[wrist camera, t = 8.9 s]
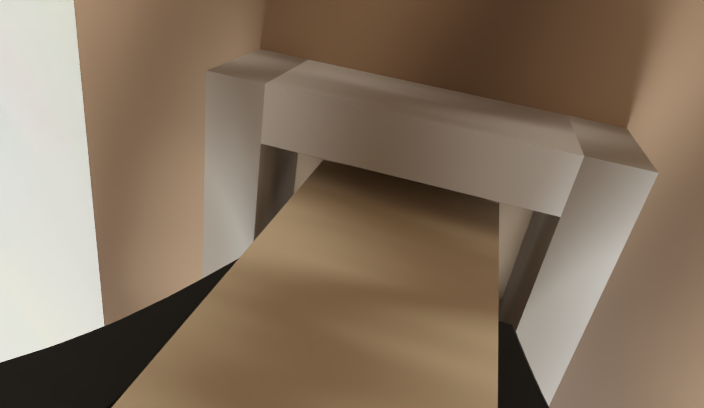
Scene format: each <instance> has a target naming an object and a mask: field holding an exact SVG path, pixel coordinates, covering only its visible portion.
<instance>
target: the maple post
mask: <svg viewBox="0 0 704 408" xmlns="http://www.w3.org/2000/svg"><path fill="white" fill-rule="evenodd" d="M498 307H499V203H497V202H493V201H489V200H485V199H480V198H476V197H472V196H468V195H464V194H460V193H456V192H452V191H448V190H444V189H440V188H436V187H432V186H428V185H424V184H420V183H416V182H411V181H407V180H403V179H399V178H395V177H391V176H387V175H383V174H379V173H375V172H371V171H367V170H363V169H359V168H355V167H351V166H347V165H342V164H338V163H334V162H330V161H326V160H323V161H322V162H321V163H320V164H319V166H318V167H317V168H316V169H315V170H314V171H313V173H312V174H311V175H310V176H309V177H308V178H307V180H306V181H305V182H304V183H303V184H302V185H301V187H300V188H299V189H298V190H297V191H296V192H295V194H294V195H293V196H292V197H291V198H290V199H289V201H288V202H287V203H286V204H285V205H284V206H283V208H282V209H281V210H280V211H279V212H278V214H277V215H276V216H275V217H274V218H273V219H272V221H271V222H270V223H269V224H268V225H267V226H266V228H265V229H264V230H263V231H262V232H261V233H260V235H259V236H258V237H257V238H256V239H255V240H254V242H253V243H252V244H251V245H250V246H249V247H248V249H247V250H246V251H245V252H244V253H243V254H242V256H241V257H240V258H239V259H238V260H237V261H236V263H235V264H234V265H233V266H232V267H231V268H230V270H229V271H228V272H227V273H226V274H225V275H224V277H223V278H222V279H221V280H220V281H219V283H218V284H217V285H216V286H215V287H214V288H213V290H212V291H211V292H210V293H209V294H208V295H207V297H206V298H205V299H204V300H203V301H202V302H201V304H200V305H199V306H198V307H197V308H196V309H195V311H194V312H193V313H192V314H191V315H190V316H189V318H188V319H187V320H186V321H185V322H184V323H183V325H182V326H181V327H180V328H179V329H178V330H177V332H176V333H175V334H174V335H173V336H172V337H171V339H170V340H169V341H168V342H167V343H166V345H165V346H164V347H163V348H162V349H161V350H160V352H159V353H158V354H157V355H156V356H155V357H154V359H153V360H152V361H151V362H150V363H149V364H148V366H147V367H146V368H145V369H144V370H143V371H142V373H141V374H140V375H139V376H138V377H137V378H136V380H135V381H134V382H133V383H132V384H131V385H130V387H129V388H128V389H127V390H126V391H125V392H124V394H123V395H122V396H121V397H120V398H119V399H118V401H117V402H116V403H115V404H114V405H113V407H112V408H498Z"/></svg>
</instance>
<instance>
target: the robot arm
mask: <svg viewBox="0 0 704 408" xmlns="http://www.w3.org/2000/svg"><path fill="white" fill-rule="evenodd" d="M238 259H239V258H238ZM238 259H237V260H238ZM237 260H235V261H233V262H231V263H229V264H227V265H226V266H224V267H222V268H220V269H218V270H217V271H215V272H213V273H211V274H209V275H208V276H206V277H204V278H202V279H200V280H199V281H197V282H195V283H193V284H191V285H189V286H187V287H186V288H184V289H182V290H180V291H178V292H176V293H174V294H172V295H170V296H169V297H166V298H164V299H162V300H160V301H158V302H156V303H154V304H152V305H150V306H148V307H145V308H143V309H141V310H139V311H137V312H135V313H133V314H131V315H129V316H127V317H124V318H122V319H120V320H118V321H116V322H113V323H111V324H109V325H106V326H104V327H101V328H99V329H96V330H94V331H92V332H89V333H86V334H84V335H81V336H78V337H76V338H73V339H71V340H68V341H65V342H63V343H60V344H57V345H54V346H51V347H49V348H46V349H42V350H39V351H36V352H33V353H30V354H27V355H23V356H20V357H17V358H14V359H11V360H8V361H4V362H1V363H0V408H112V407H113V405H114V404H115V403H116V402H117V401H118V399H119V398H120V397H121V396H122V395H123V394H124V392H125V391H126V390H127V389H128V388H129V387H130V385H131V384H132V383H133V382H134V381H135V380H136V378H137V377H138V376H139V375H140V374H141V373H142V371H143V370H144V369H145V368H146V367H147V366H148V364H149V363H150V362H151V361H152V360H153V359H154V357H155V356H156V355H157V354H158V353H159V352H160V350H161V349H162V348H163V347H164V346H165V345H166V343H167V342H168V341H169V340H170V339H171V337H172V336H173V335H174V334H175V333H176V332H177V330H178V329H179V328H180V327H181V326H182V325H183V323H184V322H185V321H186V320H187V319H188V318H189V316H190V315H191V314H192V313H193V312H194V311H195V309H196V308H197V307H198V306H199V305H200V304H201V302H202V301H203V300H204V299H205V298H206V297H207V295H208V294H209V293H210V292H211V291H212V290H213V288H214V287H215V286H216V285H217V284H218V283H219V281H220V280H221V279H222V278H223V277H224V275H225V274H226V273H227V272H228V271H229V270H230V268H231V267H232V266H233V265H234V264H235V263H236V261H237ZM498 408H549V406H548V404H547V402H546V400H545V398H544V396H543V394H542V392H541V389H540V387H539V385H538V383H537V381H536V379H535V376H534V374H533V372H532V370H531V367H530V365H529V363H528V360H527V358H526V356H525V353H524V351H523V348H522V346H521V343H520V341H519V339H518V336H517V333H516V331H515V329H514V328H513V326H512V324H508V323H504V322H501V321H498Z"/></svg>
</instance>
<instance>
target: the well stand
mask: <svg viewBox="0 0 704 408" xmlns="http://www.w3.org/2000/svg"><path fill="white" fill-rule="evenodd" d="M74 7H75V17H76V28H77V39H78V49H79V60H80V70H81V81H82V92H83V102H84V113H85V123H86V134H87V144H88V155H89V166H90V176H91V187H92V197H93V208H94V219H95V229H96V240H97V250H98V261H99V272H100V282H101V293H102V303H103V314H104V324H105V326H106V325H109V324H111V323H113V322H116V321H118V320H120V319H122V318H124V317H127V316H129V315H131V314H133V313H135V312H137V311H139V310H141V309H143V308H145V307H148V306H150V305H152V304H154V303H156V302H158V301H160V300H162V299H164V298H166V297H169V296H170V295H172V294H174V293H176V292H178V291H180V290H182V289H184V288H186V287H187V286H189V285H191V284H193V283H195V282H197V281H199V280H200V279H202V278H204V277H206V276H208V275H209V274H211V273H213V272H215V271H217V270H218V269H220V268H222V267H224V266H226V265H227V264H229V263H231V262H233V261H235V260H237V259H238V258H240V257H241V256H242V254H243V253H244V252H245V251H246V250H247V249H248V247H249V246H250V245H251V244H252V243H253V242H254V240H255V239H256V238H257V237H258V236H259V235H260V233H261V232H262V231H263V230H264V229H265V228H266V226H267V225H268V224H269V223H270V222H271V221H272V219H273V218H274V217H275V216H276V215H277V214H278V212H279V211H280V210H281V209H282V208H283V206H284V205H285V204H286V203H287V202H288V201H289V199H290V198H291V197H292V196H293V195H294V194H295V192H296V191H297V190H298V189H299V188H300V187H301V185H302V184H303V183H304V182H305V181H306V180H307V178H308V177H309V176H310V175H311V174H312V173H313V171H314V170H315V169H316V168H317V167H318V166H319V164H320V163H321V162H322V161H323V160H326V161H330V162H334V163H338V164H342V165H347V166H351V167H355V168H359V169H363V170H367V171H371V172H375V173H379V174H383V175H387V176H391V177H395V178H399V179H403V180H407V181H411V182H416V183H420V184H424V185H428V186H432V187H436V188H440V189H444V190H448V191H452V192H456V193H460V194H464V195H468V196H472V197H476V198H480V199H485V200H489V201H493V202H497V203H499V307H498V321H501V322H504V323H508V324H512V326H513V328H514V329H515V331H516V333H517V336H518V339H519V341H520V343H521V346H522V348H523V351H524V353H525V356H526V358H527V360H528V363H529V365H530V367H531V370H532V372H533V374H534V376H535V379H536V381H537V383H538V385H539V387H540V389H541V392H542V394H543V396H544V398H545V400H546V402H547V404H548V406H549V408H704V0H74Z"/></svg>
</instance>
